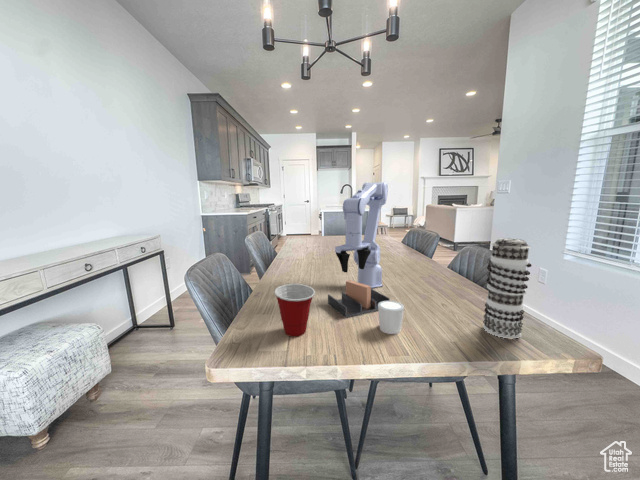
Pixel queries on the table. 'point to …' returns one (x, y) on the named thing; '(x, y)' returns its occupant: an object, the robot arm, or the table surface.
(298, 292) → the plastic cup
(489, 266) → the decorative candle
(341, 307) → the rack
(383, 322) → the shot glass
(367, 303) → the upright salmon slab
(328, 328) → the table surface
